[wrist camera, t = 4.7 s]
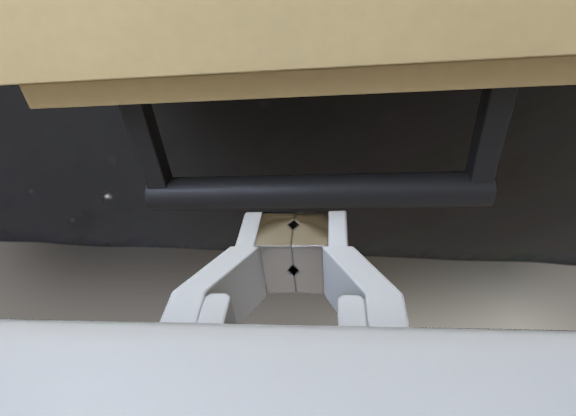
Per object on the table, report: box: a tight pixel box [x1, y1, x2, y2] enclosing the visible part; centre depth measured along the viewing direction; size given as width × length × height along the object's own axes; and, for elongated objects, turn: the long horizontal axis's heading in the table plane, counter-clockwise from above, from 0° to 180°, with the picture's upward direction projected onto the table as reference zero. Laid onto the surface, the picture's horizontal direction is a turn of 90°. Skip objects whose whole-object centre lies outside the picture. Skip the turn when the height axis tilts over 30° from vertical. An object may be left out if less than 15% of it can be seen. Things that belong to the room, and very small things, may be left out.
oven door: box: [19, 55, 576, 210], centre depth 22 cm, size 22×7×15 cm, turn 95°
